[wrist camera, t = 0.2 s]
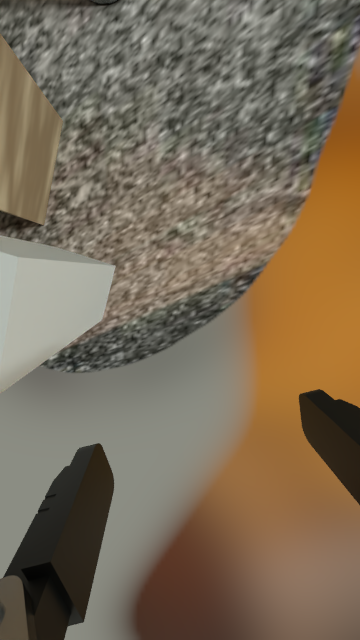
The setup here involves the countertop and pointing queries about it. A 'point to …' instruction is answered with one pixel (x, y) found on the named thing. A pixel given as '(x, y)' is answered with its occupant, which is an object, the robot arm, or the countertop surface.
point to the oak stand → (25, 141)
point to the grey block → (45, 303)
